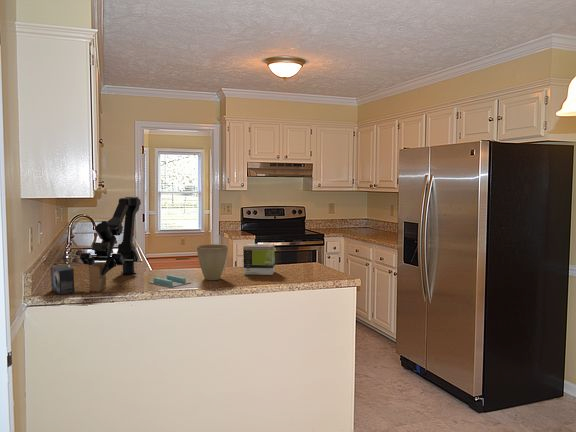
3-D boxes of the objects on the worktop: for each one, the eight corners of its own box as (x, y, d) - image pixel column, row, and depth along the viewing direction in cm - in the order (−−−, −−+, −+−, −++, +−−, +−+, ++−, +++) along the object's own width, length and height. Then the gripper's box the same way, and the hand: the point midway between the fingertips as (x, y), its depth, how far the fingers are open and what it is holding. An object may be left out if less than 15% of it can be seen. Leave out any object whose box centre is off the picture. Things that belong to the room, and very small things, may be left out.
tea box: (274, 271, 255) (275, 243, 253) (272, 275, 245) (272, 246, 243) (246, 270, 256) (246, 243, 255) (243, 274, 246) (243, 245, 245)
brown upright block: (97, 287, 217) (96, 262, 216) (106, 287, 217) (105, 263, 216) (89, 291, 210) (89, 265, 209) (98, 291, 210) (98, 266, 209)
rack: (148, 282, 227) (148, 277, 226) (169, 278, 236) (169, 273, 236) (170, 287, 217) (170, 282, 217) (190, 283, 226) (190, 278, 226)
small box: (50, 290, 210) (49, 266, 209) (65, 288, 215) (65, 264, 214) (59, 295, 202) (58, 270, 202) (75, 292, 207) (74, 268, 206)
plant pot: (233, 279, 236) (233, 246, 234) (207, 283, 226) (207, 249, 224) (217, 274, 247) (216, 243, 245) (191, 278, 237) (190, 245, 236)
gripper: (80, 234, 216) (68, 263, 206) (121, 235, 214) (110, 265, 205) (89, 249, 224) (78, 278, 215) (128, 250, 223) (119, 279, 213)
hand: (96, 274), depth 211 cm, fingers open, 5 cm apart
